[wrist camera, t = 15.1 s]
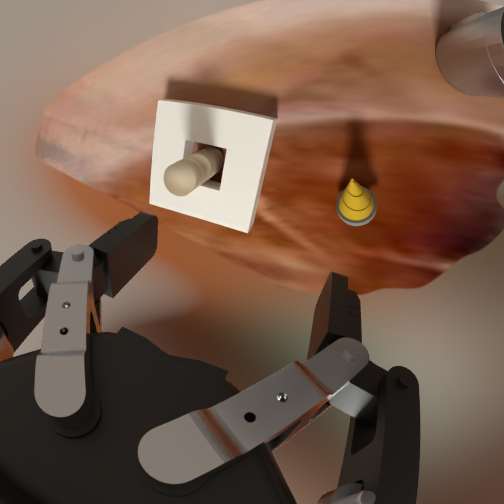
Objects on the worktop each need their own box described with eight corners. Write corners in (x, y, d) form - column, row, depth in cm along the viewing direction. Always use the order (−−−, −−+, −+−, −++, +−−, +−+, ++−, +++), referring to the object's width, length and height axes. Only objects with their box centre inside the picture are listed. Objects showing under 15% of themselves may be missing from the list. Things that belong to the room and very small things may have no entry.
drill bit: (331, 215, 40) (318, 179, 31) (358, 191, 40) (351, 151, 31) (357, 241, 38) (351, 210, 29) (384, 216, 37) (385, 179, 28)
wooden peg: (200, 144, 39) (164, 160, 31) (226, 150, 39) (196, 167, 30) (197, 170, 41) (162, 192, 33) (222, 176, 41) (192, 200, 33)
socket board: (169, 98, 37) (158, 100, 34) (277, 118, 35) (273, 120, 32) (159, 196, 45) (149, 203, 43) (253, 224, 44) (247, 233, 41)
